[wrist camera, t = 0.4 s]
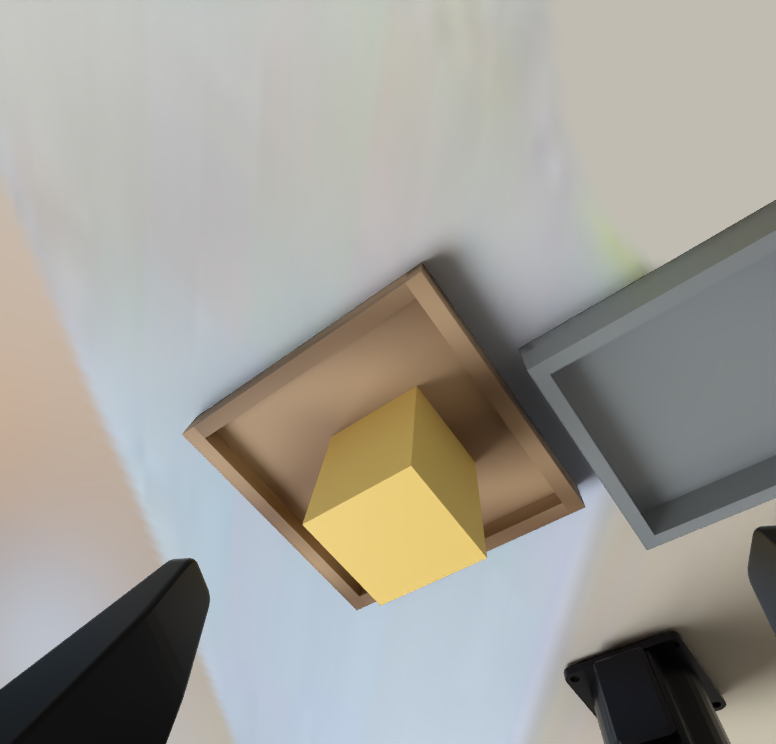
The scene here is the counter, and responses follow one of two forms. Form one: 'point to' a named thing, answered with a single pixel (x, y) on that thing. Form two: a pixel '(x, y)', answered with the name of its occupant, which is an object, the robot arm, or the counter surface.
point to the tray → (365, 395)
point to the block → (398, 500)
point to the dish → (676, 384)
